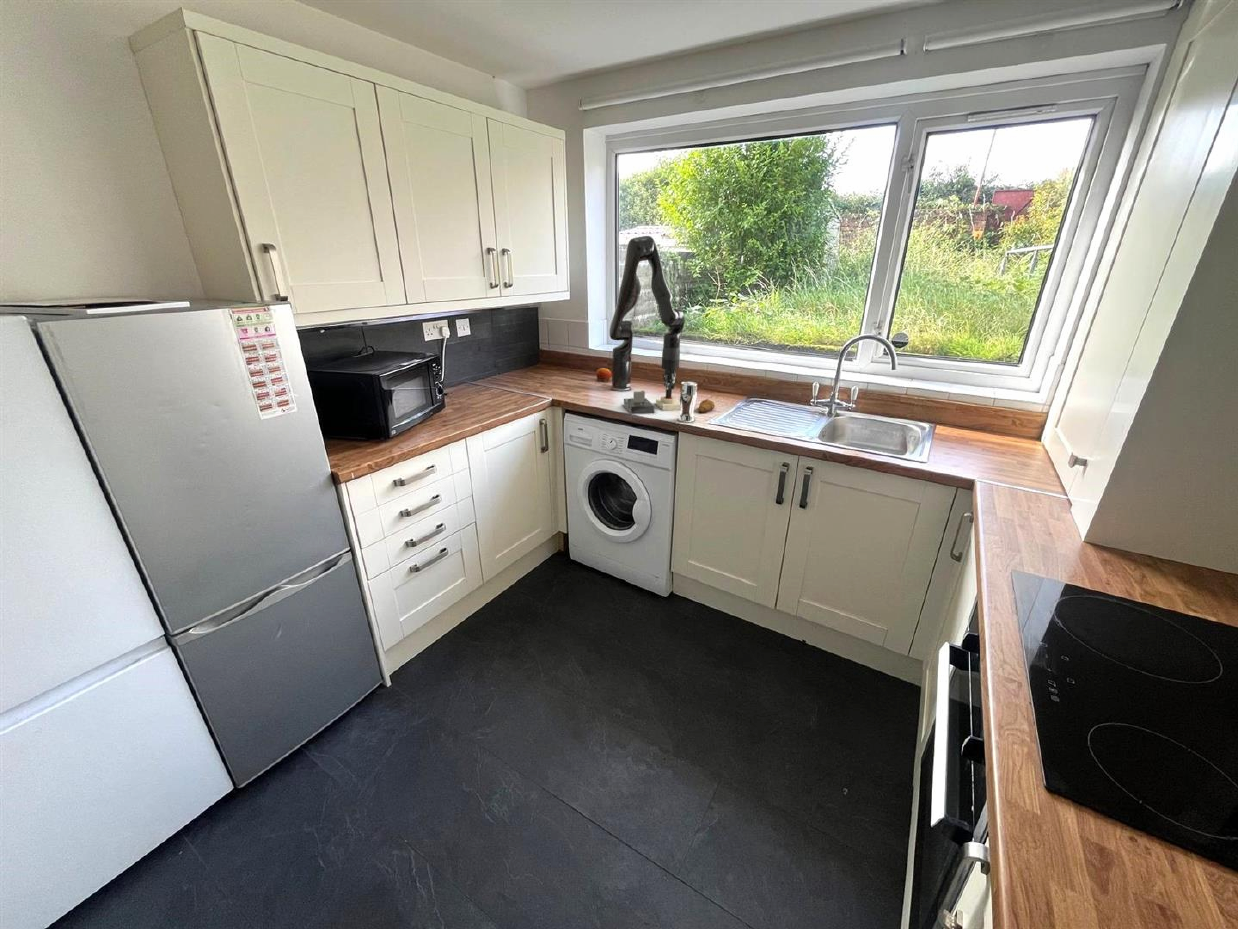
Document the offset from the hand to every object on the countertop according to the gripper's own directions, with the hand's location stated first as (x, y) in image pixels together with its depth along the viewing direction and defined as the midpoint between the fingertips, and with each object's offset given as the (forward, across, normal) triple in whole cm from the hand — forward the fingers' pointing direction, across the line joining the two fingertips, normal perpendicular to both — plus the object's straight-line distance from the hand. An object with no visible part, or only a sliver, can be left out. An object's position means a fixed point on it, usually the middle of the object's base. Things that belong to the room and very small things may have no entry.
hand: (668, 397), depth 218 cm
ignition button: (+2, 0, 0) cm, 2 cm away
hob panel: (+4, +2, -14) cm, 15 cm away
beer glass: (+4, +21, +1) cm, 21 cm away
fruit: (+4, -56, -18) cm, 59 cm away
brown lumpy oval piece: (+4, +8, +15) cm, 18 cm away
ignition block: (+4, 0, 0) cm, 4 cm away
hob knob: (+1, +2, -14) cm, 14 cm away
